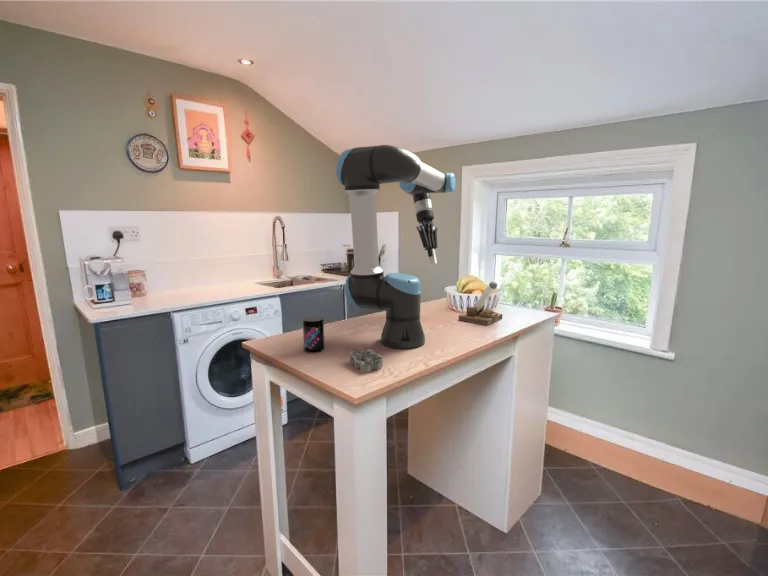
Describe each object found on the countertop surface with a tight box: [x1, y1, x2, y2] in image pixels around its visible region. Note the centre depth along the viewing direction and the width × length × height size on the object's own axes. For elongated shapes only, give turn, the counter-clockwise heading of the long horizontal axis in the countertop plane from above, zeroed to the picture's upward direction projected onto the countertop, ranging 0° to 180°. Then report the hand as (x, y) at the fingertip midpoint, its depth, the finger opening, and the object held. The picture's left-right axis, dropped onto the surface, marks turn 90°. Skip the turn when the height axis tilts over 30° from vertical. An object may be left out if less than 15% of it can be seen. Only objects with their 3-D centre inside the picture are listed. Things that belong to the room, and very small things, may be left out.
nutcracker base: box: [458, 304, 503, 326], centre depth 159 cm, size 14×13×6 cm
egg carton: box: [347, 349, 385, 373], centre depth 109 cm, size 11×8×4 cm
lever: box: [473, 281, 498, 313], centre depth 157 cm, size 5×3×16 cm
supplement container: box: [302, 315, 325, 354], centre depth 121 cm, size 7×7×10 cm
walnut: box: [484, 307, 494, 315], centre depth 156 cm, size 4×4×4 cm
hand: (433, 264), depth 162 cm, fingers closed
